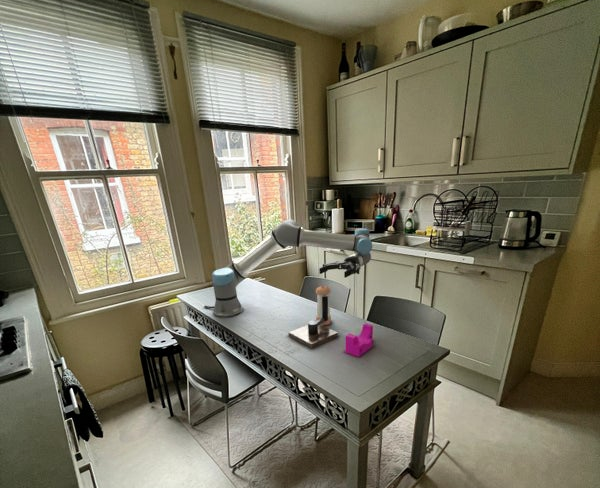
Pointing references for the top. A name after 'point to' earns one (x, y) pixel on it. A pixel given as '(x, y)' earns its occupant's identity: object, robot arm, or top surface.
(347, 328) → the top surface
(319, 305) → the pepper shaker
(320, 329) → the pivot base
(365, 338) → the toy block
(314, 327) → the black stand
